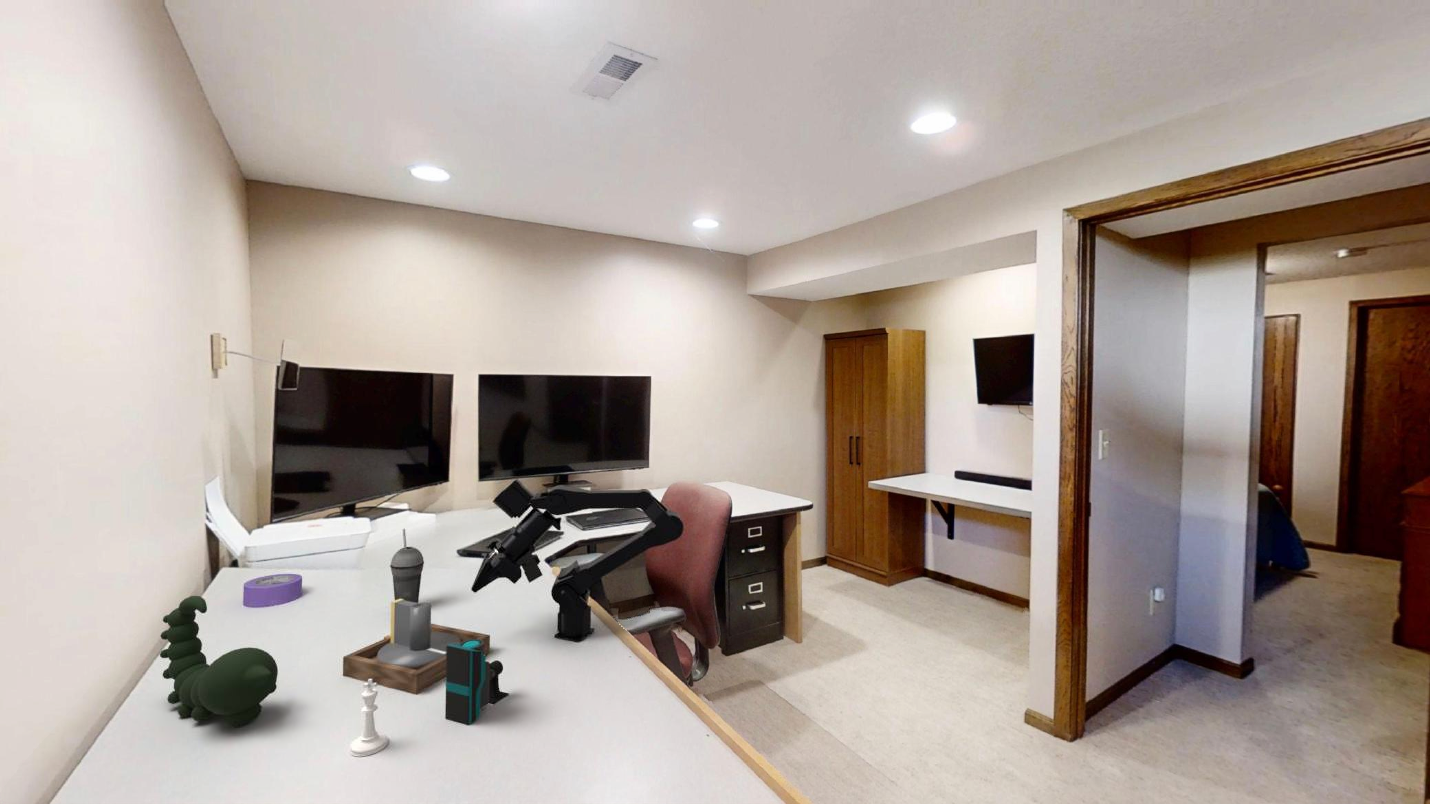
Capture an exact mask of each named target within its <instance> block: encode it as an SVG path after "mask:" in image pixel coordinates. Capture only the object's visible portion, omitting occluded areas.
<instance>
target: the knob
mask: <svg viewBox="0 0 1430 804" xmlns="http://www.w3.org/2000/svg"><path fill="white" fill-rule="evenodd" d="M431 624H432V604H431V603H430V602H422V603H421V602H418V603H415V602H410V601H405V600H404V599H398V600H395V599H394V600H392V601H391V603H390V636H391V641H390V643H388V644H386V645H385V646H383V647H382V648H381V649H380V650H379V651H378V654H377V661H380V662H384V663H389V664H393V665H397V666H401V667H405V668H410V669H414V670H419V669H420V668H422V667H424V666H426V665H428V664H430V663H432V662H434V661H436V660H438V659H439V658H441V657H443V656H445V655H446V645H448V644H453V645H458V646H459V644H460V638H459V637H458V636H456V635H454V634H451V633H445V632H431Z"/></svg>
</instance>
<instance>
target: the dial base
mask: <svg viewBox="0 0 1430 804" xmlns="http://www.w3.org/2000/svg"><path fill="white" fill-rule="evenodd" d="M431 632H445V633H451V634H454V635H456V636H458V637H459V638H460V643H461V642H463V641H466V640H470V639H481V640H483V641H484V655H485V656H486V655H487V654H489V653H490V652H491V649H490V648H491V646H490V645H491V634H486V633H481V632H476V631H471V630H466V629H460V628H455V627H449V626H445V625H439V624H436V623H431ZM390 641H391V634H388V635H386V636H384V637H383V639H381V640H379V641H377V642H374V643H372V644H370V645H367V646H364V647H363V648H360V649H358V650H356V651H353V652H351V653H349V654H346V655H344V656H342V676H343V677H347V678H351V679H354V680H359V681H362V682H365V683H368V680H369V679H372V683H377V685H378V686H383V687H385V688H389V689H392V690H393V689H394V690H398V691H401V692H405V693H409V694H412V695H418V694H419V693H421V692H423V691H426V689H428V688H430V687H432V686H433V685H435V684H437V683H438V682H440V681H443V679H446V655H445V656H443V657H441V658H439V659H438V660H436V661H434V662H432V663H430V664H428V665H426V666H424V667H422V668H420V669H419V670H414V669H410V668H405V667H401V666H397V665H393V664H389V663H384V662H380V661H377V654H378V651H379V650H380V649H381V648H382V647H383V646H385V645H386V644H388V643H390Z"/></svg>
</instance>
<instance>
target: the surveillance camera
mask: <svg viewBox="0 0 1430 804" xmlns="http://www.w3.org/2000/svg"><path fill="white" fill-rule="evenodd" d="M503 670H504V665H503V663H502V662H501V661H500V660H493V661H492V662H489V661H487V660H486V655H484V641H483V640H481V639H470V640H466V641H463V642H461V643H460V644H459V646H458V645H453V644H448V645H446V678H445V713H444V714H445V716H444V718H445V720H447V721H452V722H454V723H458V724H460V725H461V724H462V725H464V726H471V725H472V724H473V723H475V721H477V720H478V718H479V717H480V716H481V710H482V709H483V708H485V707H486V706H488V705H489V704H490V705H494V706H495V705H496V704H497V703H499V702H500V701H501V700H503V699H505V698H506V697H507V696H509V693H508V692H506V691H505V692H504V691H502V690H501V689H500V685H499V675H501V674H502V673H503Z"/></svg>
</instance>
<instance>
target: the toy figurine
mask: <svg viewBox="0 0 1430 804" xmlns="http://www.w3.org/2000/svg"><path fill="white" fill-rule="evenodd" d="M207 605H208V604H207V602H206V600H205V598H203V597H202V596H199V595H190V596H188V597H185V598H184V599H183V600H181V601H180V602H179V605H178V607H177V608H174V609H173V610H171V612H170V613H169V614H166V615H164V616H163V618H162V622H164V623H165V624H167V625H168V626H169V628H168V629H167V630H164V631H163V632H161V634H160V638H161V639H162V640H166V641H168V642H169V643H170V644H169V645H168V648H166V649H165V648H164V649H163V650H161V651H160V654H159V657H160V658H161V659H169V661H170V663H169V664H168V667H167V668H166V669H164V670H163V673H162V678H164V679H165V680H170V679H172V680H174V683H173V691H171V693H169V694H168V696H167V702H168V704H171V705H175V704H179V703H181V705H179V708H178V710H177V714H178V716H179V717H182V718H183V717H184V718H186V717H189V716H191V718H192V719H193V721H196V722H203V721H205V720H207V719H208V718H209V717H210V716H212V715H213V714H216V715H221V716H226V717H227V718H226V721H227V724H228V725H229V726H230V727H233V728H236V727H242V726H244V725H247V724H250V723H251V722H253V721H255V720H256V719H257V718H258V717H259V716H260V714H261V713H262V708H263V707H262V705H261V703H262V702H263V701H264V700H265V699H266V698H267V697H269V696H270V695H271V694H273V693H275V691H276V690H277V688H278V687H277V686H278V685H277V680H278V673H279V671H278V670H279V669H278V665H277V661H276V660H275V659H274V657H273V656H272V655H271V654H270V653H268V652H267V651H265V650H263V649H261V648H258V647H242V648H238V649H237V648H236V649H233V650H230V651H229V652H226V653H224V654H223V655H220V656H219V657H218V658H216V659H215V660H214V661H213V662H211V663H210V664H208V661H207V657H206V655H205V654H204V653H203V652H202V649H203V643H202V640H201V638H199V636H198V635H199V631H200V627H199V624H198V622H197V621H195V620H196V616H197V614H196V611H198V612H199V613H201V614H205V613H207V612H208V607H207Z"/></svg>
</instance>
